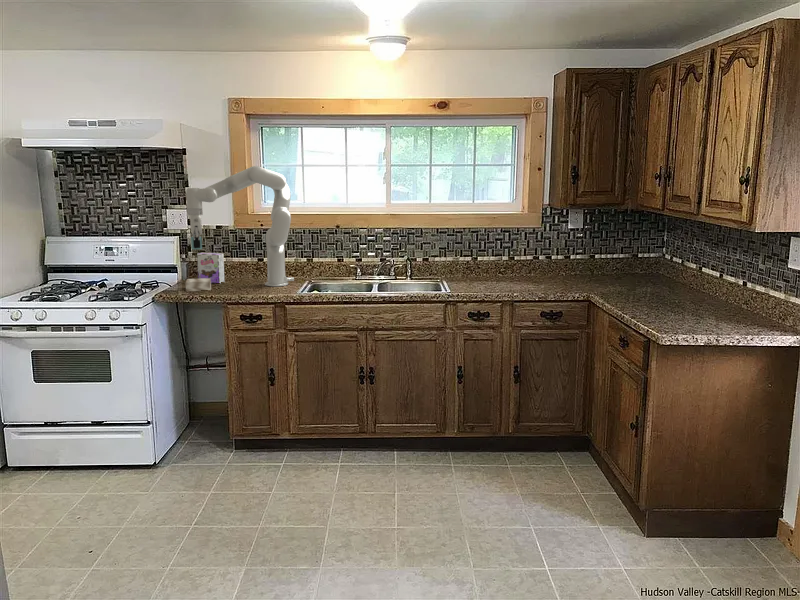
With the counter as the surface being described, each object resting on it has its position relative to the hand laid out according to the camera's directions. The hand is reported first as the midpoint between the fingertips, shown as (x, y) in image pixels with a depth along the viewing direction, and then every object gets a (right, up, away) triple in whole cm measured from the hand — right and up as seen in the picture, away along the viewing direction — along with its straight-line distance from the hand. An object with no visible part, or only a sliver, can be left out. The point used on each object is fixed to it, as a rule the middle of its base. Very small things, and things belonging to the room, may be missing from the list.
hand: (196, 246), depth 340 cm
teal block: (0, -1, 0) cm, 1 cm away
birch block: (0, -22, +4) cm, 23 cm away
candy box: (0, -18, +25) cm, 31 cm away
